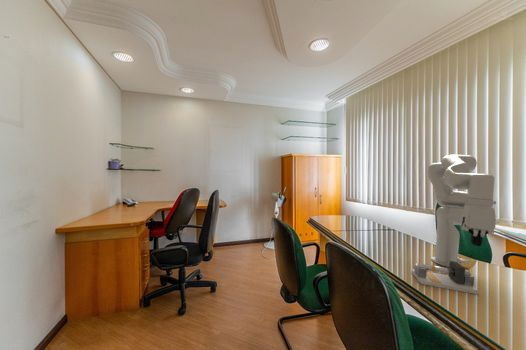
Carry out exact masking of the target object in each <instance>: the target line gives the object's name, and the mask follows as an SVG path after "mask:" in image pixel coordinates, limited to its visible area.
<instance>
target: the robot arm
mask: <svg viewBox="0 0 526 350" xmlns="http://www.w3.org/2000/svg"><path fill="white" fill-rule="evenodd" d="M477 161H478V160H477V159H476V157H474V156H473V155H470V154H468V155H467V154H448V155H445V156H444V157H442V158H441V161H440V162H433V163H430V165H428V167H427V175H428V179H429V182H430V183H431V185H432V187H433V190H434V195H435V200H436V203H437V204H438V208H437V209H436V211H435V213H436V215H435V216H436V227H437V228H436V240H435V251H434V256H432V257H431V259H430V260H431V261H432V262H433V263H435V264H437V265H440V266H442V267H445V268H449V264H450V261H454V262H457V263H458V264H460V265H461V266H462V264H466V265H469V264H470V261H469V260H468V259H464V258H461V257H459V247H460V231H459V230H458V229H457V227H456V226H461V230H463V231H466V232H468V233H469V234H470V235H471V237H470V242H471V244H472V245H474V246H475V247H482V244H483V238H485V236H486V235H488V234H494V233H495V229H496V220H497V218H496V212H495V207H493V206H494V205H496V204H497V201H496V200H495V201H494V190H495V189H494V188H495V176H494V175H492V174H488V173H487V174H486V173H472V171H474V170H475V169H476V168H477V164H478V162H477ZM454 189H455V190H454ZM456 189H457V190H456ZM459 190H467V191H468V192H466V191H459ZM455 225H456V226H455Z"/></svg>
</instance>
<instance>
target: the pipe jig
mask: <svg viewBox="0 0 526 350" xmlns="http://www.w3.org/2000/svg"><path fill="white" fill-rule="evenodd" d="M411 273H412V274H413V276H414V277H415V278H416V279H417V281H418V282H419V283H420V285H425V286H432V287H435V288H441V289H447V290H453V291H458V292H463V293H469V294H475V295H479V289H477V288H476V287H475V286H474V281H475V276H473V275H472V274H471V272H470V271H468V270H465V276H464V285H463V284H458V283H456V282H455V281H454V280H453V279H451V278H450V277H449V274H452V275H455V269H451V268H449V267H445V266H437V265H433V264H430V265H429V264H424V263H419V262H417V263H414V268H412V269H411Z"/></svg>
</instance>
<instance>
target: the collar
mask: <svg viewBox="0 0 526 350" xmlns="http://www.w3.org/2000/svg"><path fill="white" fill-rule="evenodd" d="M460 264H461V263H460ZM460 264H458V263H457V262H454V261H450V264H449V267H448V268H451V269H455V275H452V274H448V275H449V277H450V278H451V279H453V280H454V281H455V282H456V283H458V284H463V285H464V276H465V271H466V268H465V267H464V266H463V265H462V264H461V265H460Z"/></svg>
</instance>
